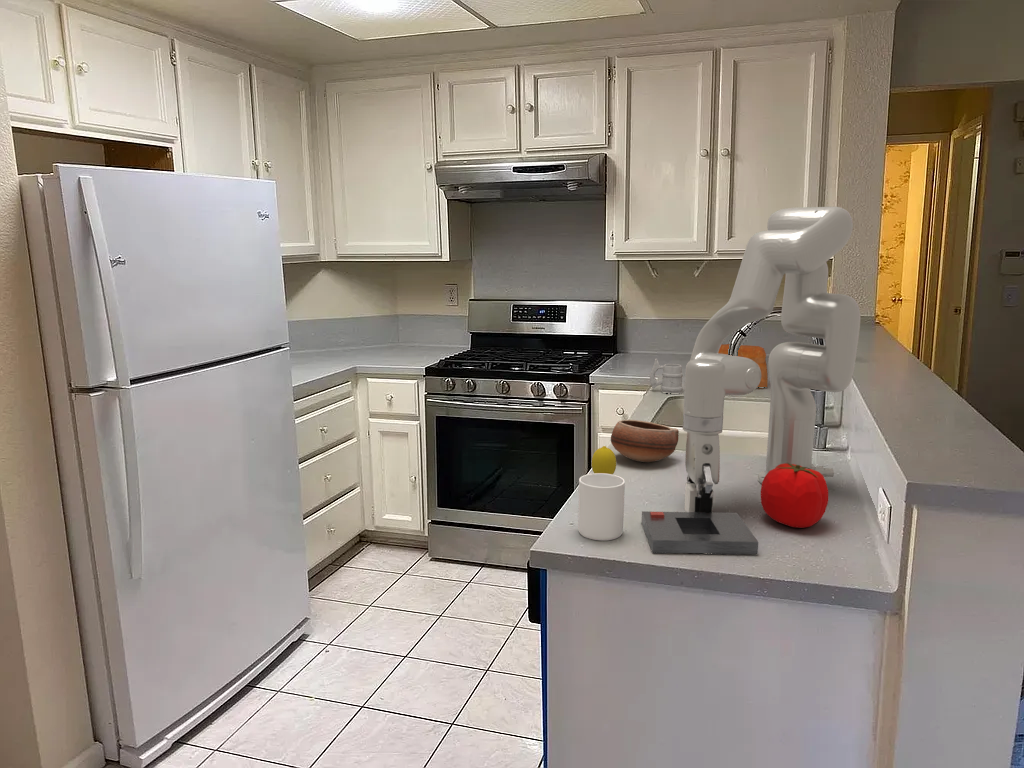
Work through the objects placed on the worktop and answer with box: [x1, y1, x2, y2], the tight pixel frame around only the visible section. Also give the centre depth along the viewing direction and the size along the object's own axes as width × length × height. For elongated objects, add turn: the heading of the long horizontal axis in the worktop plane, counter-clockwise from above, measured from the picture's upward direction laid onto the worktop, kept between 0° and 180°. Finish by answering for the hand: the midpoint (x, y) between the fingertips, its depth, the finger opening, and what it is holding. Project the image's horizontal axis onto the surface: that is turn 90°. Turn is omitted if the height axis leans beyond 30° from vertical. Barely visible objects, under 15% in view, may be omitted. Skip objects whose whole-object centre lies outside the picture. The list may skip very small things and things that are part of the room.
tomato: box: [760, 462, 829, 529], centre depth 144 cm, size 12×13×12 cm
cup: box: [577, 472, 626, 542], centre depth 140 cm, size 8×12×10 cm
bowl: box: [610, 419, 680, 463], centre depth 184 cm, size 16×16×10 cm
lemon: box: [591, 445, 617, 475], centre depth 169 cm, size 6×6×8 cm
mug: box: [649, 358, 684, 394], centre depth 267 cm, size 8×12×12 cm, turn 78°
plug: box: [683, 479, 714, 512], centre depth 148 cm, size 4×4×8 cm
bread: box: [718, 343, 769, 388], centre depth 283 cm, size 14×27×15 cm, turn 72°
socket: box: [641, 511, 759, 555], centre depth 136 cm, size 18×14×3 cm
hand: (698, 508), depth 149 cm, fingers open, 7 cm apart
